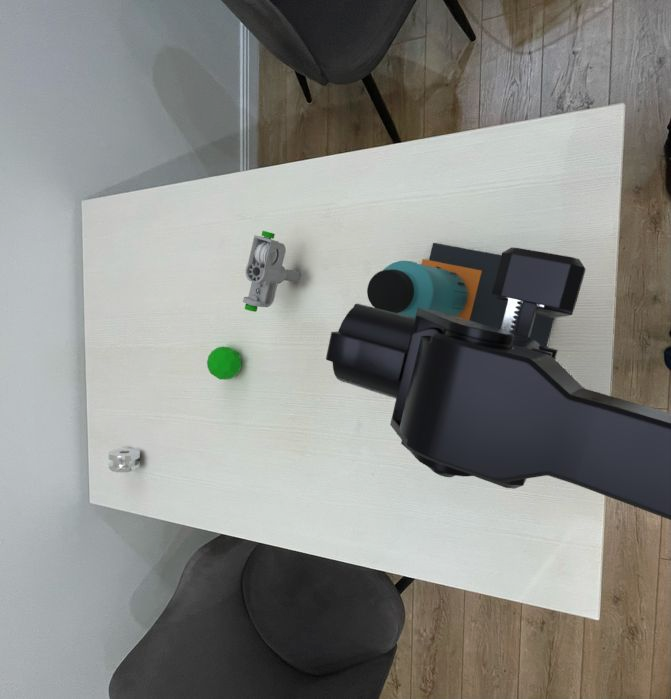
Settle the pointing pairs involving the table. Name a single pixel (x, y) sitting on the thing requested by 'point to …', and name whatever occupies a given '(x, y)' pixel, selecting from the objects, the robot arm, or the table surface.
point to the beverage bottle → (417, 289)
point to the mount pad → (482, 288)
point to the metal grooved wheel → (124, 460)
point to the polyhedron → (224, 363)
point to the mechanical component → (266, 271)
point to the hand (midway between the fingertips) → (528, 361)
